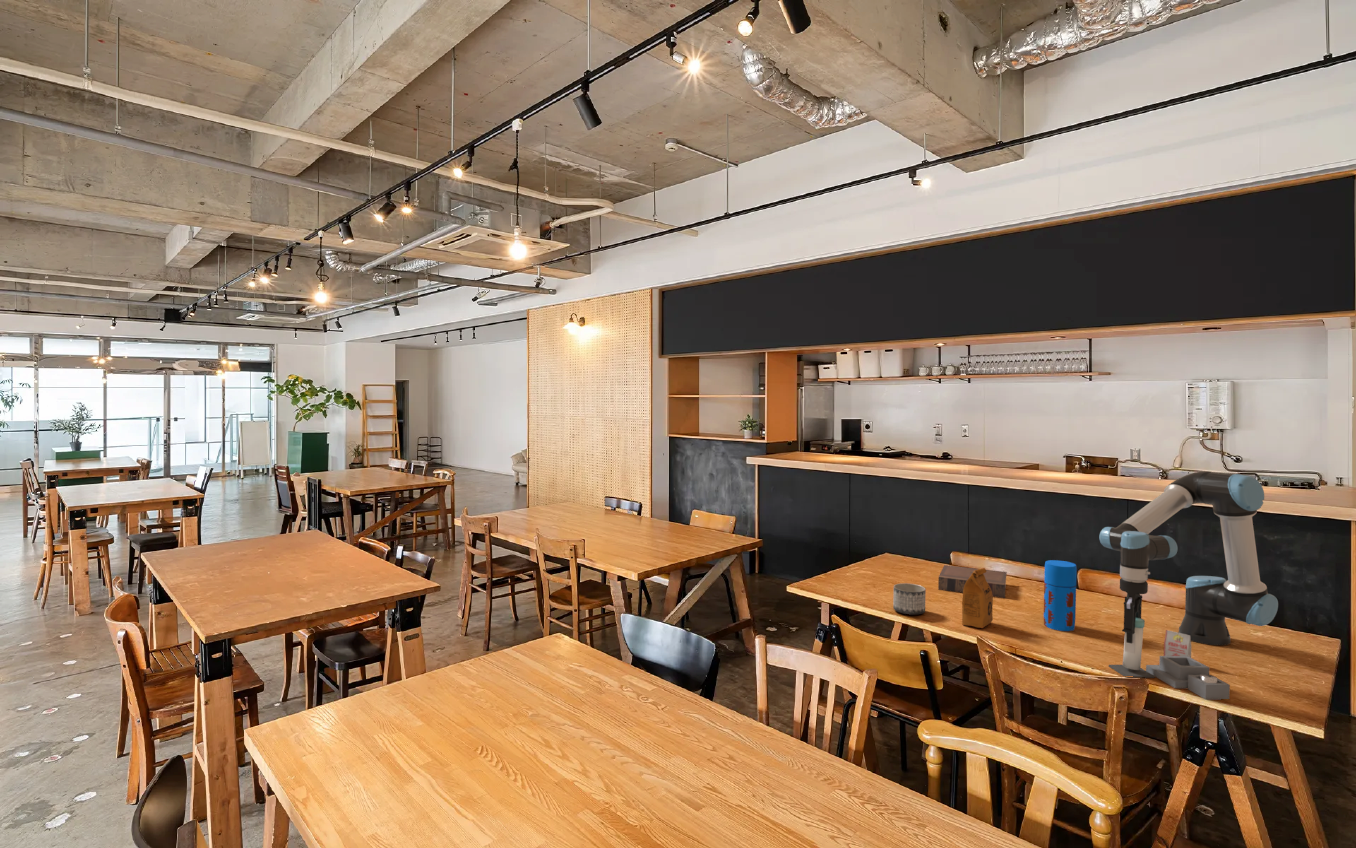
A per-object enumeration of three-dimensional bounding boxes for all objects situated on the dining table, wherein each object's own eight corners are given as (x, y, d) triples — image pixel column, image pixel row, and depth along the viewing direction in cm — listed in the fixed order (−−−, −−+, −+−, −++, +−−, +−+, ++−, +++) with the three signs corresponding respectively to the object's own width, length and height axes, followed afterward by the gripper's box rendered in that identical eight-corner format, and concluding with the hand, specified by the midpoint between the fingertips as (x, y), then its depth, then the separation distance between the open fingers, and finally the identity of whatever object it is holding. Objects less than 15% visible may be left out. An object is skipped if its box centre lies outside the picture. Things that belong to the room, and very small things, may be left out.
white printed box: (1166, 657, 229) (1167, 628, 229) (1190, 663, 224) (1191, 634, 223) (1163, 660, 227) (1164, 631, 226) (1187, 666, 221) (1188, 636, 221)
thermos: (1073, 624, 262) (1075, 561, 261) (1076, 633, 252) (1078, 568, 251) (1042, 620, 267) (1043, 559, 266) (1044, 628, 257) (1045, 565, 256)
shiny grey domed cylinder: (1196, 690, 202) (1196, 674, 202) (1209, 690, 202) (1210, 674, 202) (1206, 695, 198) (1207, 679, 198) (1220, 696, 198) (1220, 679, 198)
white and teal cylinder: (1120, 666, 217) (1123, 618, 215) (1124, 662, 220) (1127, 615, 219) (1138, 671, 213) (1142, 623, 212) (1142, 667, 216) (1146, 619, 215)
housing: (1146, 671, 218) (1146, 653, 217) (1189, 671, 217) (1189, 653, 217) (1193, 699, 197) (1194, 679, 197) (1241, 699, 197) (1241, 680, 197)
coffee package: (997, 624, 262) (998, 569, 261) (983, 631, 254) (984, 574, 253) (972, 617, 270) (973, 564, 269) (957, 624, 262) (958, 569, 261)
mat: (1108, 666, 221) (1108, 664, 221) (1135, 666, 221) (1135, 664, 221) (1126, 677, 212) (1126, 676, 212) (1154, 678, 212) (1154, 676, 212)
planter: (892, 614, 274) (892, 589, 273) (894, 605, 286) (894, 582, 285) (924, 618, 269) (925, 593, 269) (925, 609, 281) (925, 585, 280)
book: (1004, 599, 296) (1005, 584, 296) (938, 590, 309) (938, 576, 309) (1006, 585, 318) (1006, 572, 318) (944, 578, 331) (944, 565, 331)
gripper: (1141, 587, 206) (1139, 660, 207) (1153, 576, 219) (1151, 645, 220) (1113, 582, 212) (1111, 654, 213) (1126, 572, 224) (1124, 640, 225)
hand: (1131, 649), depth 216 cm, fingers closed on white and teal cylinder, 5 cm apart
